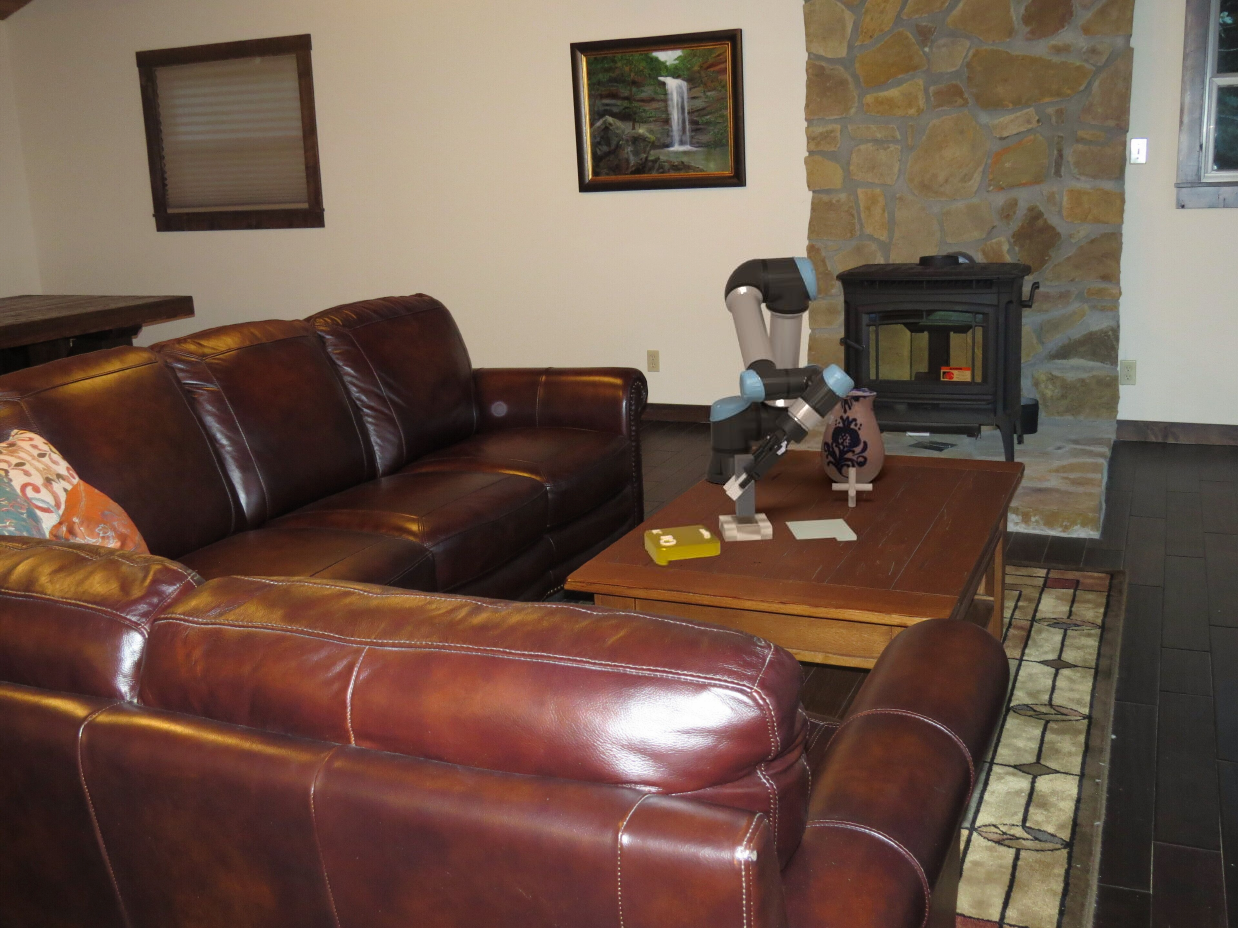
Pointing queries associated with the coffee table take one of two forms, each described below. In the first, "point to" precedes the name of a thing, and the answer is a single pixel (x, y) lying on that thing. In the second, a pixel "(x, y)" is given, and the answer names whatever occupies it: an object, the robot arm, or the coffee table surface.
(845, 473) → the ceramic pitcher
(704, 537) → the element tile
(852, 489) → the pipe connector
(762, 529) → the socket block
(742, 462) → the peg
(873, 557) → the coffee table surface
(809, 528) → the plate
